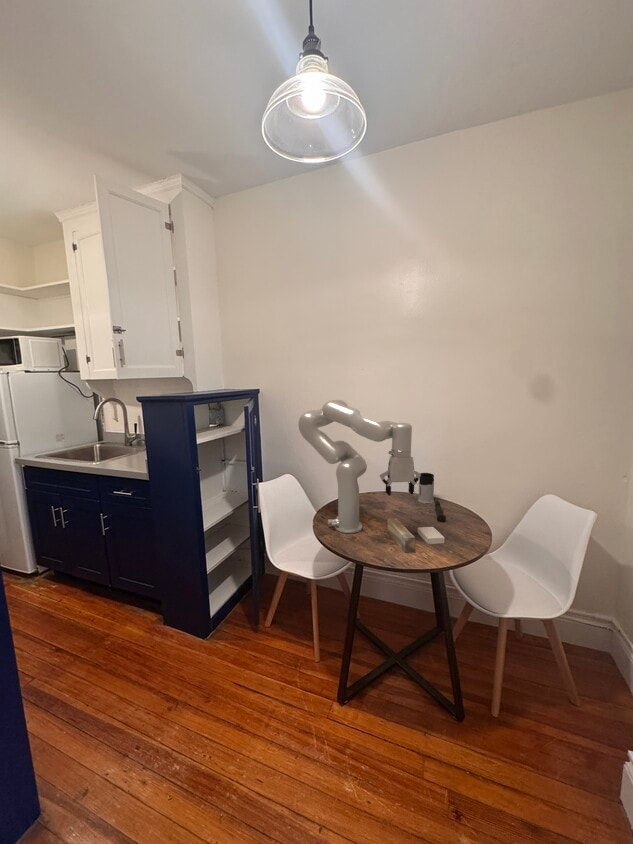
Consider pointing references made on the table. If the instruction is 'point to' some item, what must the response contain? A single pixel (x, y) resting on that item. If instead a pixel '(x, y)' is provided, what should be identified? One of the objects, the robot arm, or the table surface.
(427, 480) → the glass holder
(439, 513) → the hand tool
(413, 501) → the table surface
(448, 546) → the table surface
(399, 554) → the table surface
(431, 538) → the white and teal block
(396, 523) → the grey-capped beige stick
